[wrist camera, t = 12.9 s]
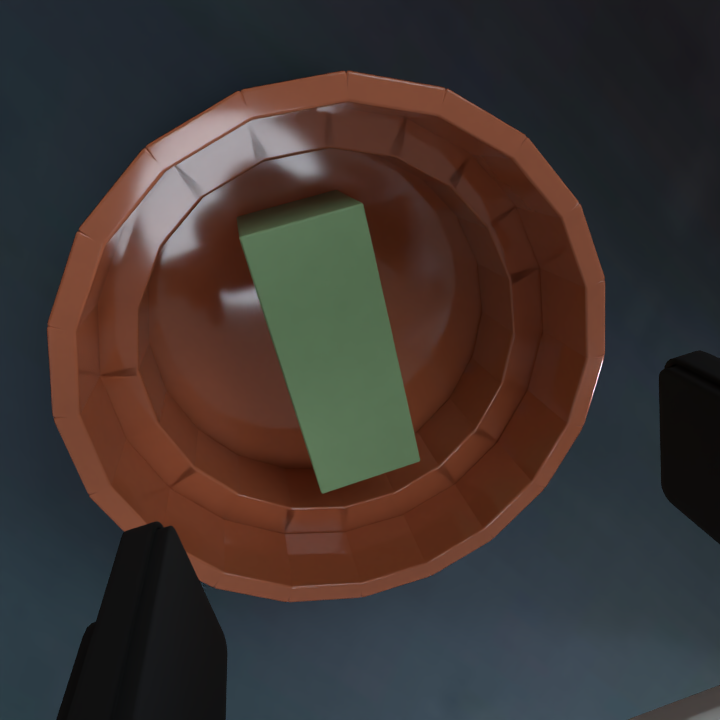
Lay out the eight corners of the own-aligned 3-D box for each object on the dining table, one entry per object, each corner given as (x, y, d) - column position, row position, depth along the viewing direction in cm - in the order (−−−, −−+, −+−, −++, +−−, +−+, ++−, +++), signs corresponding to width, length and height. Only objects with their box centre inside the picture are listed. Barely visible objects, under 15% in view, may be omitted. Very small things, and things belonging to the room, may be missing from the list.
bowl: (412, -4, 16) (493, -63, 11) (563, 372, 22) (659, 441, 17) (-9, 247, 16) (-110, 297, 11) (256, 554, 22) (265, 675, 17)
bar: (236, 216, 17) (238, 237, 14) (337, 189, 17) (363, 202, 14) (306, 436, 20) (321, 494, 17) (390, 409, 21) (421, 461, 17)
